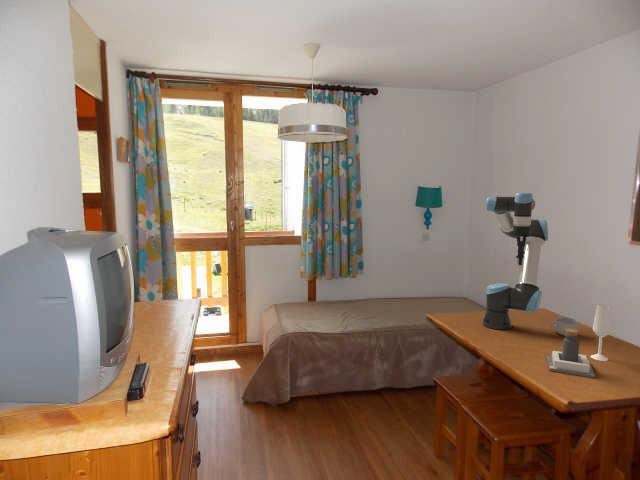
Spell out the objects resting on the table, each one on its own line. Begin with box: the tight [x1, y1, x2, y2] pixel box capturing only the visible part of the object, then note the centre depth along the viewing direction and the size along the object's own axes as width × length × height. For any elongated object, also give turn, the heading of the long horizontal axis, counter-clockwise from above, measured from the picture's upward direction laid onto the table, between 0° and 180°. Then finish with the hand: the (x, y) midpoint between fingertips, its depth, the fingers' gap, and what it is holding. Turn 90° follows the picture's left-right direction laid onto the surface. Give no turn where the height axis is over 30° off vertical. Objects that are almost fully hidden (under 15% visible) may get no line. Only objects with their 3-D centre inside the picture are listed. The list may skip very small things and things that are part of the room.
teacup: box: [549, 316, 580, 337], centre depth 220 cm, size 14×11×8 cm
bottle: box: [561, 329, 580, 363], centre depth 179 cm, size 6×6×15 cm
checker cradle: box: [546, 350, 596, 379], centre depth 179 cm, size 16×16×4 cm
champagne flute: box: [590, 303, 612, 362], centre depth 188 cm, size 7×7×24 cm
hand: (519, 269), depth 204 cm, fingers open, 13 cm apart
